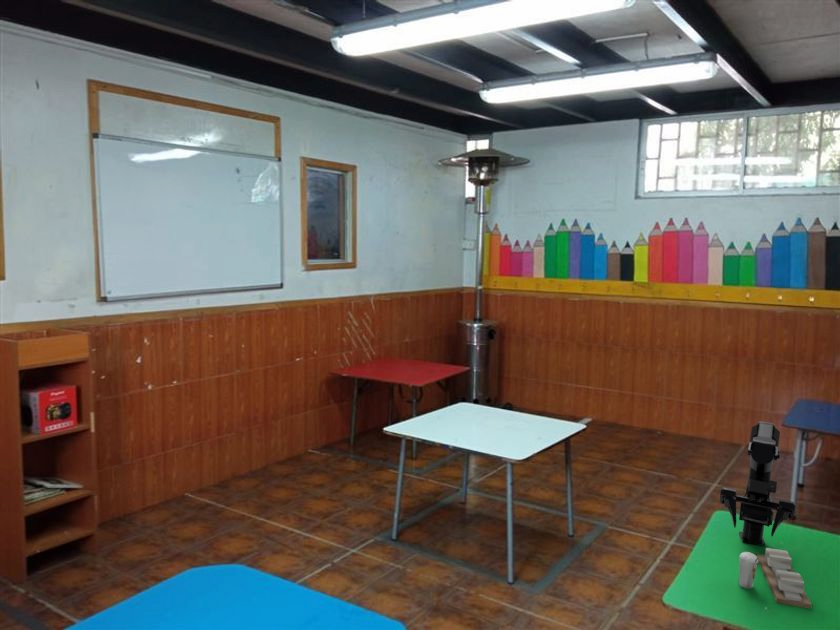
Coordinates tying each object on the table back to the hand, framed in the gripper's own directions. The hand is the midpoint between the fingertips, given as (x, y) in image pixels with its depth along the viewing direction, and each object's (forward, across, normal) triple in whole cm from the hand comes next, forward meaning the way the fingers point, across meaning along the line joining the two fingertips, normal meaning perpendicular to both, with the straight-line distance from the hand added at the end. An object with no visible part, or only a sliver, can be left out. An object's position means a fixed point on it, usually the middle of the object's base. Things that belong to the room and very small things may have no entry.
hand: (753, 531), depth 185 cm
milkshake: (+14, 0, +5) cm, 15 cm away
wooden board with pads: (+8, +8, +10) cm, 15 cm away
